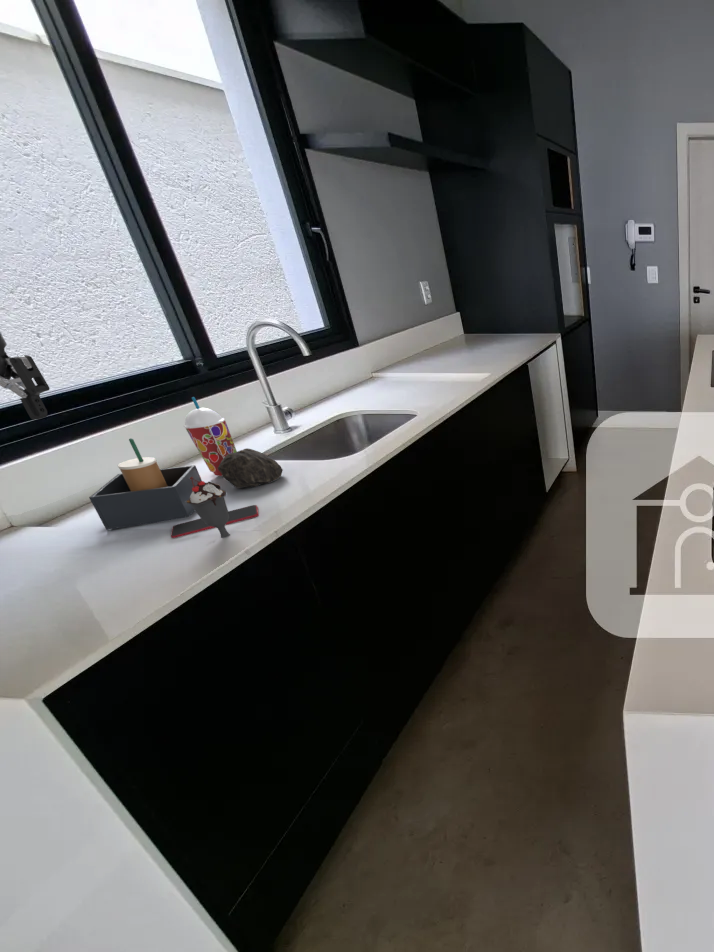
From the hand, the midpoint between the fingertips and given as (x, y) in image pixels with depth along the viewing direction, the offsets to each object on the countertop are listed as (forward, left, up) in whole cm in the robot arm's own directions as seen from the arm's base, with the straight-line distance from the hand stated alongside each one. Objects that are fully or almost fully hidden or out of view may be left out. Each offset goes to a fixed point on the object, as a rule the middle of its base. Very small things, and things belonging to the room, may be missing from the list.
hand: (13, 418), depth 96 cm
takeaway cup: (+4, +22, -28) cm, 35 cm away
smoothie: (+12, +44, -28) cm, 54 cm away
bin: (+4, +22, -28) cm, 36 cm away
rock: (+21, +31, -28) cm, 47 cm away
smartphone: (+18, +8, -28) cm, 34 cm away
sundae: (+22, -2, -28) cm, 36 cm away
